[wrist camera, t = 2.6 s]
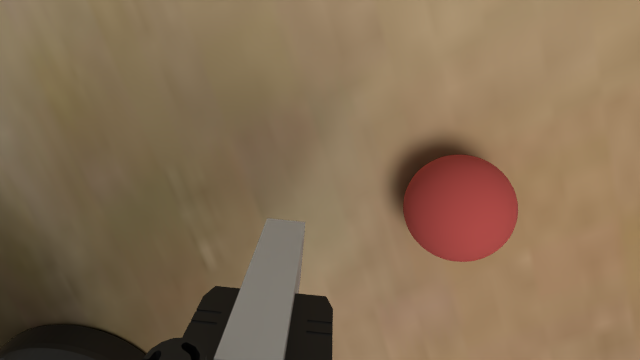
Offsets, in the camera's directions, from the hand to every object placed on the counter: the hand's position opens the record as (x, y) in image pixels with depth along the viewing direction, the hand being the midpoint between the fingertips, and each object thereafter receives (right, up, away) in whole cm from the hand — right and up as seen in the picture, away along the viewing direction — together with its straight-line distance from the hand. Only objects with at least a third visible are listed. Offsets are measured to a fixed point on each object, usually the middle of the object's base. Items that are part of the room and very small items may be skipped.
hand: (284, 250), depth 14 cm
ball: (+9, +1, +6) cm, 11 cm away
